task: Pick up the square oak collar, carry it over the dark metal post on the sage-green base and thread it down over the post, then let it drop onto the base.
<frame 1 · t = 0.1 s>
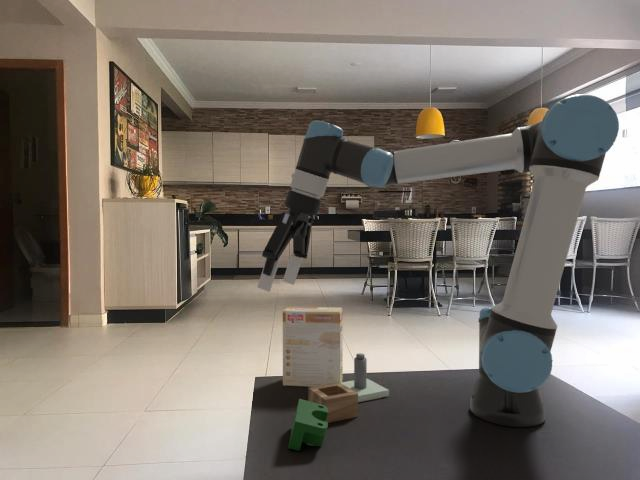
hand: (276, 285, 103), 28 cm above the table, tool tilted 20°, fingers open, 13 cm apart
clamp: (308, 441, 89), on the table
coffeecake box: (313, 383, 122), on the table
collar: (332, 413, 102), on the table
post: (360, 393, 114), on the table
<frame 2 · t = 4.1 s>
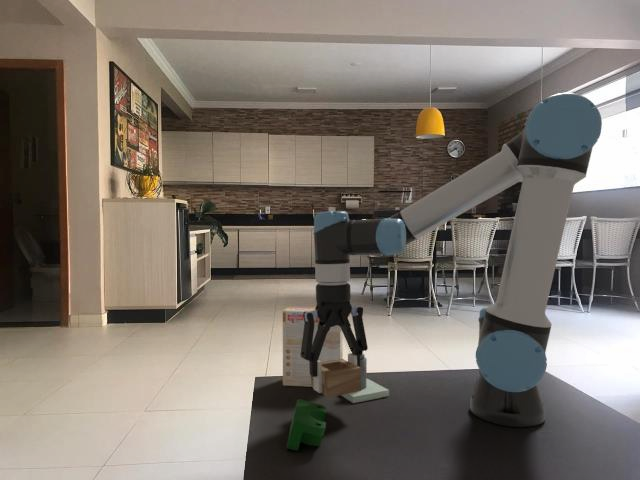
hand: (335, 387, 101), 6 cm above the table, tool pointing down, fingers closed on collar, 8 cm apart
collar: (335, 388, 101), point 6 cm above the table, touching gripper
everything else where it was.
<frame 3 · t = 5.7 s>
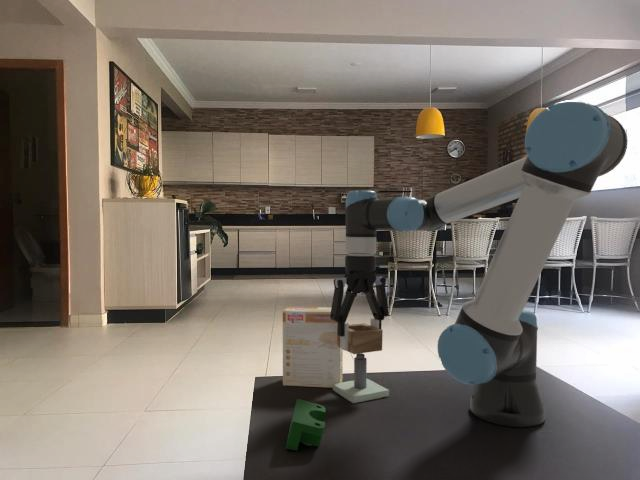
hand: (359, 347, 114), 11 cm above the table, tool pointing down, fingers closed on collar, 8 cm apart
collar: (359, 348, 114), point 11 cm above the table, touching gripper
everything else where it was.
when the fingers open (2 cm above the table, at t = 7.6 s): collar stays where it is, resting on post.
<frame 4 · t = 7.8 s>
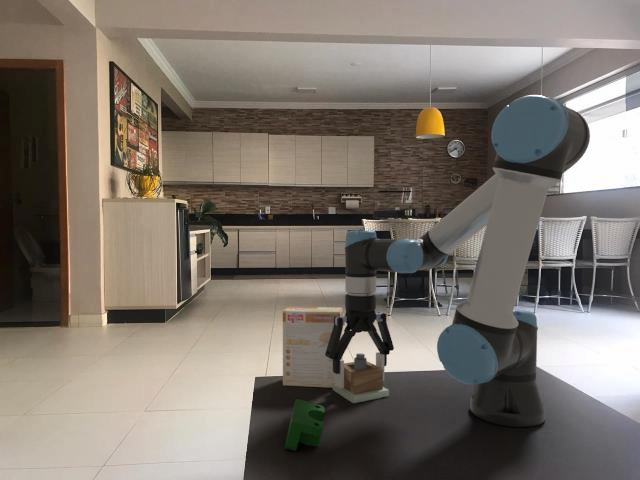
hand: (360, 382, 114), 2 cm above the table, tool pointing down, fingers open, 11 cm apart
collar: (359, 386, 114), point 1 cm above the table, touching post
everything else where it was.
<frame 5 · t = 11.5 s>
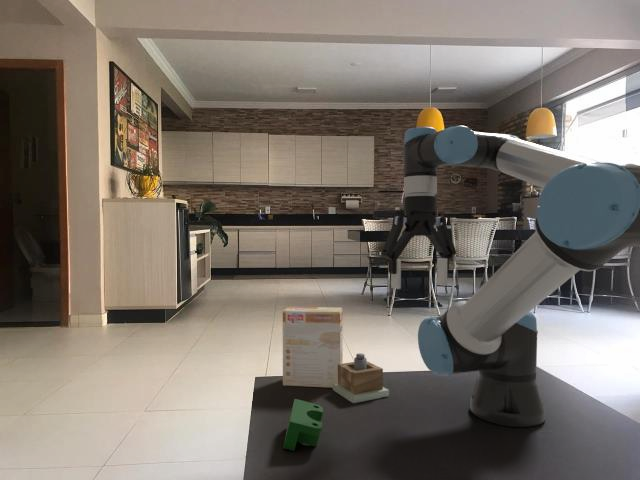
hand: (419, 286, 109), 27 cm above the table, tool pointing down, fingers open, 13 cm apart
nothing on the table moved.
at the end: collar 0.2 cm from the post (horizontally); collar point 1.5 cm above the table; the gripper is holding nothing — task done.
